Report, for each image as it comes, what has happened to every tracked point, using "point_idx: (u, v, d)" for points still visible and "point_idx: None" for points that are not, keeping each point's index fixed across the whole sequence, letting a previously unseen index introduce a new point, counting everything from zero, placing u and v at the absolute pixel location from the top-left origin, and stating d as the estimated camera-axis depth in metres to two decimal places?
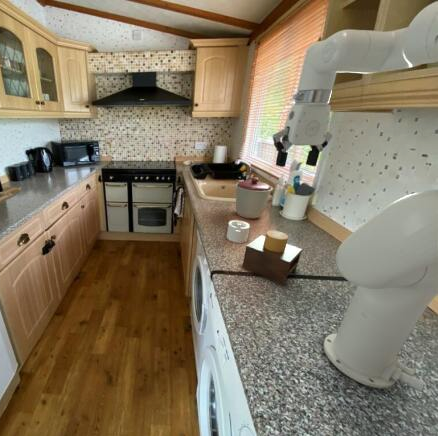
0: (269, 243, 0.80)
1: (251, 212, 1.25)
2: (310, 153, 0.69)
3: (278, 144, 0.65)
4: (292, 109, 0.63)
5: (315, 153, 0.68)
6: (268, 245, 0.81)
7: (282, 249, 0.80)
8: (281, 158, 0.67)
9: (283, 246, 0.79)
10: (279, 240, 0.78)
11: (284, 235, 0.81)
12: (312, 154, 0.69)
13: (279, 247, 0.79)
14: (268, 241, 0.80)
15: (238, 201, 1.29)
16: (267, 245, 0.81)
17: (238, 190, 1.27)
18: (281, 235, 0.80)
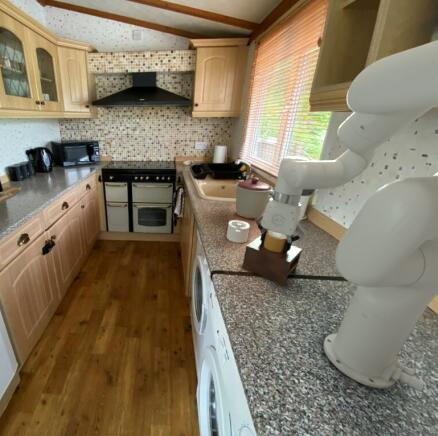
0: (269, 243, 0.80)
1: (251, 212, 1.25)
2: None
3: (258, 226, 0.84)
4: None
5: None
6: (268, 245, 0.81)
7: (282, 249, 0.80)
8: (261, 237, 0.84)
9: (283, 246, 0.79)
10: (279, 240, 0.78)
11: (284, 235, 0.81)
12: None
13: (279, 247, 0.79)
14: (268, 241, 0.80)
15: (238, 201, 1.28)
16: (267, 245, 0.81)
17: (238, 190, 1.27)
18: (282, 235, 0.80)
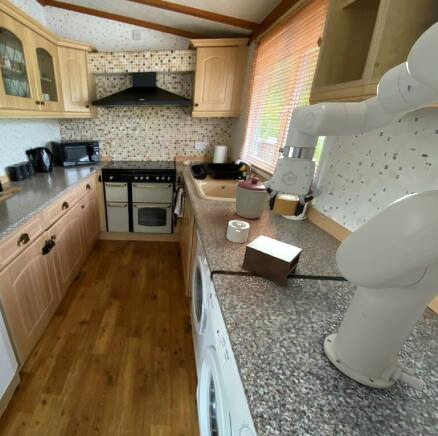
0: (279, 206, 0.73)
1: (251, 212, 1.25)
2: None
3: (267, 190, 0.77)
4: None
5: None
6: (278, 209, 0.73)
7: (294, 212, 0.72)
8: (270, 202, 0.77)
9: (295, 209, 0.72)
10: (291, 201, 0.71)
11: (296, 197, 0.73)
12: None
13: (290, 210, 0.72)
14: (278, 205, 0.73)
15: (238, 201, 1.28)
16: (276, 209, 0.74)
17: (238, 190, 1.27)
18: (293, 198, 0.73)
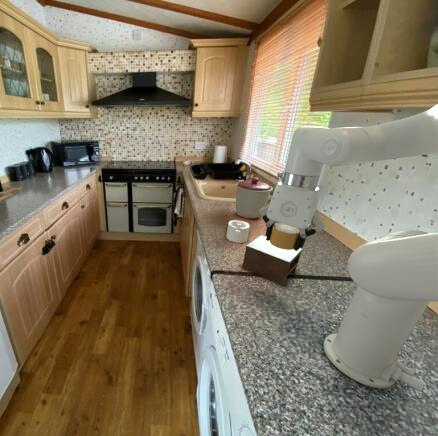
0: (277, 238, 0.64)
1: (251, 212, 1.25)
2: None
3: (263, 218, 0.68)
4: None
5: None
6: (276, 241, 0.64)
7: (293, 246, 0.63)
8: (267, 232, 0.68)
9: (295, 242, 0.63)
10: (290, 234, 0.62)
11: (296, 228, 0.64)
12: None
13: (290, 243, 0.63)
14: (276, 237, 0.64)
15: (238, 201, 1.28)
16: (274, 241, 0.65)
17: (238, 190, 1.27)
18: (293, 229, 0.64)
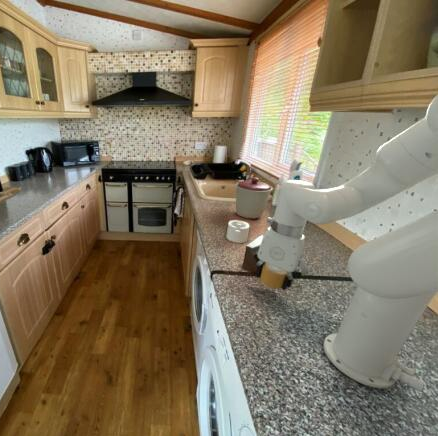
0: (266, 278, 0.69)
1: (251, 212, 1.25)
2: None
3: (254, 256, 0.73)
4: None
5: (285, 278, 0.67)
6: (266, 280, 0.70)
7: (281, 285, 0.69)
8: (258, 269, 0.73)
9: (283, 282, 0.68)
10: (278, 275, 0.67)
11: None
12: (286, 278, 0.68)
13: (278, 283, 0.68)
14: (265, 276, 0.69)
15: (238, 201, 1.28)
16: (264, 280, 0.70)
17: (238, 190, 1.27)
18: (281, 269, 0.69)
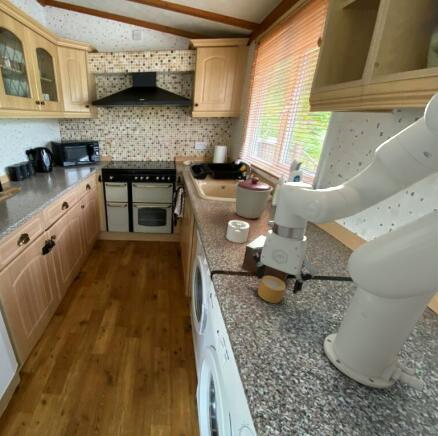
0: (264, 292, 0.71)
1: (251, 212, 1.25)
2: None
3: (253, 257, 0.73)
4: None
5: (295, 281, 0.65)
6: (263, 294, 0.71)
7: (278, 300, 0.70)
8: (258, 270, 0.73)
9: (279, 297, 0.70)
10: (276, 291, 0.69)
11: (281, 283, 0.71)
12: None
13: (275, 298, 0.70)
14: (263, 290, 0.71)
15: (238, 201, 1.28)
16: (261, 294, 0.72)
17: (238, 190, 1.27)
18: (278, 284, 0.71)
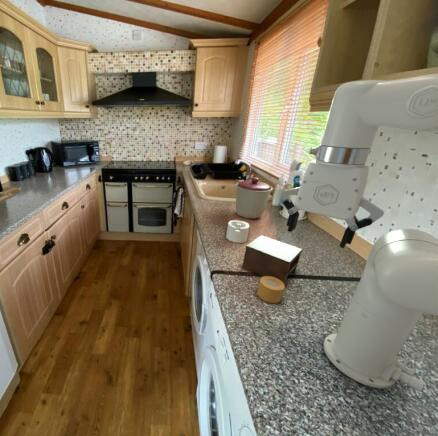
0: (263, 292, 0.71)
1: (251, 212, 1.25)
2: None
3: (284, 203, 0.54)
4: None
5: (345, 230, 0.47)
6: (263, 295, 0.71)
7: (278, 300, 0.70)
8: (289, 221, 0.54)
9: (279, 297, 0.70)
10: (275, 290, 0.69)
11: (280, 283, 0.71)
12: None
13: (274, 298, 0.70)
14: (262, 291, 0.71)
15: (238, 201, 1.28)
16: (261, 294, 0.72)
17: (238, 190, 1.27)
18: (277, 284, 0.71)
